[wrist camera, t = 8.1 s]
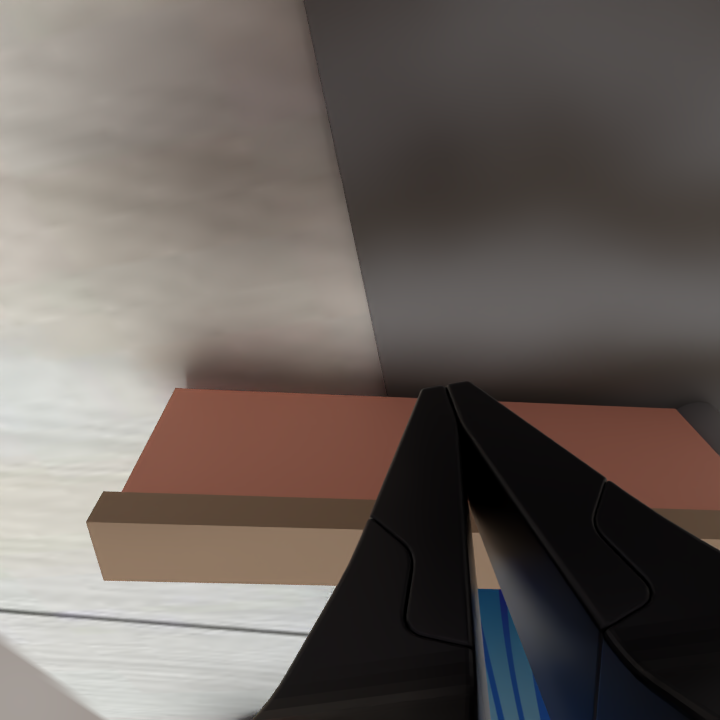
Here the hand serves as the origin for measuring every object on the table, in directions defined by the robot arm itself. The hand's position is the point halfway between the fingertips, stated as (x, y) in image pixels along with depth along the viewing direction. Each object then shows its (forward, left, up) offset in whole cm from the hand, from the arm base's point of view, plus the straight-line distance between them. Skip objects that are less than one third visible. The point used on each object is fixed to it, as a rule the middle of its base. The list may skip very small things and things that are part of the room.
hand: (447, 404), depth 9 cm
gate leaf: (-6, -1, -8) cm, 10 cm away
